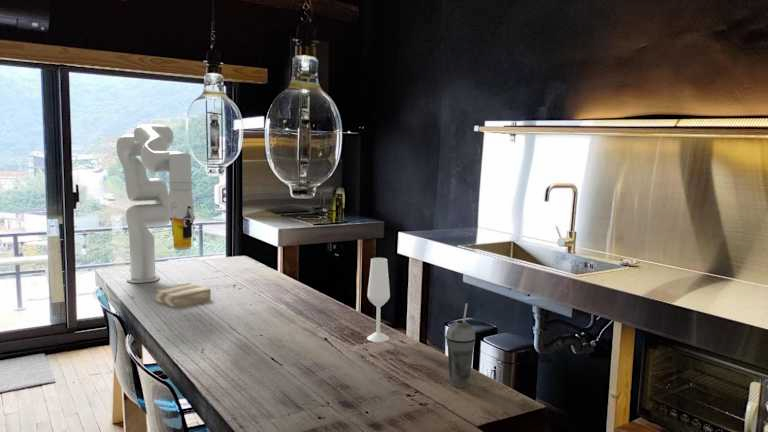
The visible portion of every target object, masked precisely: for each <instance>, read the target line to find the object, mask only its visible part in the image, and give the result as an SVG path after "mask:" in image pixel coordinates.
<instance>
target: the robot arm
mask: <svg viewBox="0 0 768 432" xmlns="http://www.w3.org/2000/svg"><path fill="white" fill-rule="evenodd" d="M173 142H174V133H173V130H172V129H171V127H170V126H169V125H164V124H141V125H138V126H137V127H135V129H134V131H133V134H126V135H122V136H120V137H119V138H117V141H116V153H117V158H118V160H119V161H120V162H119V163H121V164H120V165H121V166H122V169H123V175H124V176H123V177H124V183H125V190H126V196H127V198H128V200H130V201H131V202H135V203H137V202H154V203H143V204H134V205H131V206H129V207H128V208H127V209H126V211H125V218H126V219H125V220H126V224H127V229H128V238H129V241H128V243H129V261H130V262H129V264H130V269H129V273H130V276H127V277H126V281H127V282H128V283H131V284H146V283H153V282H156V281H159V280H160V277H161V276H160V275H159V274H156V250H155V248H156V247H155V238H154V237H155V236H154V235H153V233H152V232H151V231H150V230H149V229H148V228H151V227H164V226H167V225H169V224H170V222H171V226H172V228H171V229H172V231H171V232H172V233H171V234H172V235H173V210H176V218H177V219H182V220H183V224H184V227H183V238H190V237H191V238H192V237H193V230H192V228H193V225H194V224H193V223H194V221H195V219H196V216H195V213H194V210H195V209H194V207H195V206H194V198H193V192H192V190H193V186H192V181H193V180H192V179H193V178H192V156H191V154H190V153H189V152H183V151H176V150H175V151H172V150H171V151H167V150H168V149H169V148H170V147H171V145H173ZM138 156H139V157H140V159H141V160H140V159H139V158H138ZM147 170H148V171H150V172H153V173H168V174H169V175H168V177H169V179H168V181H169V182H168V183H169V190H168V186H167V183H166V182H165V180H163V179H162V178H158V177H156V178H155V177H154V178H150V177H148V175H147V174H148V173H147ZM186 216H189V218H185V217H186ZM186 220H188V221H187V222H186Z"/></svg>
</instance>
